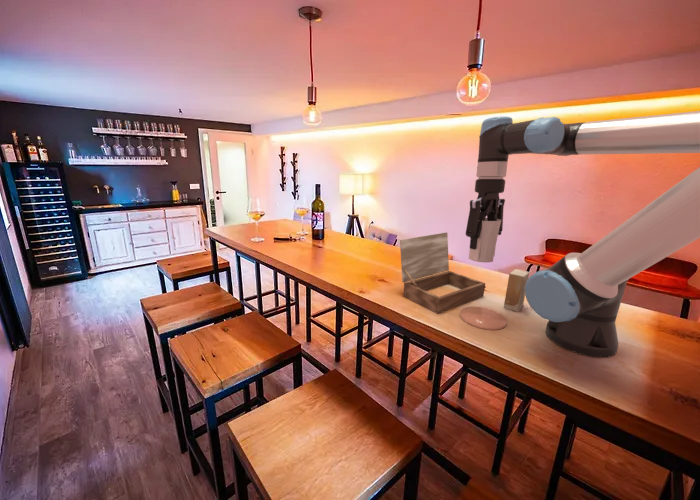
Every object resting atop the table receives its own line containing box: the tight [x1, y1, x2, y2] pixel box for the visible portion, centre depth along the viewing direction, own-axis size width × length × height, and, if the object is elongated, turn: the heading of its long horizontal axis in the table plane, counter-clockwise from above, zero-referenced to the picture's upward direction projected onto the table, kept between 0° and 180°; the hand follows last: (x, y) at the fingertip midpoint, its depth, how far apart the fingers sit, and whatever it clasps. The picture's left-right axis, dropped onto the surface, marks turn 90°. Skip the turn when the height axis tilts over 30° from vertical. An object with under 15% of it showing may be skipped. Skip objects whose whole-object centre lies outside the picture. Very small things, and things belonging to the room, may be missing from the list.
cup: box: [472, 217, 501, 263], centre depth 86 cm, size 8×8×12 cm
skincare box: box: [503, 268, 530, 313], centre depth 95 cm, size 6×4×12 cm
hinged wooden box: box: [399, 232, 486, 315], centre depth 103 cm, size 19×24×20 cm
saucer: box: [459, 305, 508, 331], centre depth 89 cm, size 13×13×1 cm
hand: (481, 257), depth 87 cm, fingers closed on cup, 7 cm apart
